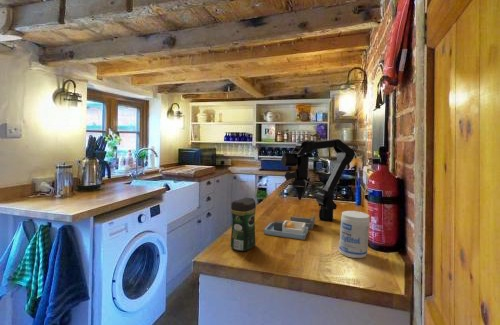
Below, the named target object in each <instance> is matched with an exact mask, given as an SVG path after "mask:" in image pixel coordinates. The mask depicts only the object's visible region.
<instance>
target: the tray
mask: <svg viewBox="0 0 500 325" xmlns="http://www.w3.org/2000/svg"><path fill="white" fill-rule="evenodd" d="M308 232H309V229H308V227H305V232H304V234H296V233H288V232H282V231H278V230H274V222H270V223H268V224H267V226H265V228H264V229H263V234H264V235H268V236H275V237H281V238H288V239H295V240H302V241H304V240H305V239H306V237H307V235H308Z"/></svg>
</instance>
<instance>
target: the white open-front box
mask: <svg viewBox="0 0 500 325" xmlns="http://www.w3.org/2000/svg"><path fill="white" fill-rule="evenodd" d="M290 222H291V223H293V224H294V229H292V228H286V225H287V224H288V223H290ZM273 223H274V230H278V231H282V232H288V233H296V234H304V232H305V223H303V222H294V221H290V220H278V219H277V220H274V222H273Z"/></svg>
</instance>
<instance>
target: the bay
mask: <svg viewBox="0 0 500 325" xmlns="http://www.w3.org/2000/svg"><path fill="white" fill-rule="evenodd" d="M289 221H294V222H303V223H305V227H308V230H310V231H311V230H313V229H314V226H315V215H312V216H311V218H309V217H299V216H290V220H289Z"/></svg>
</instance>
